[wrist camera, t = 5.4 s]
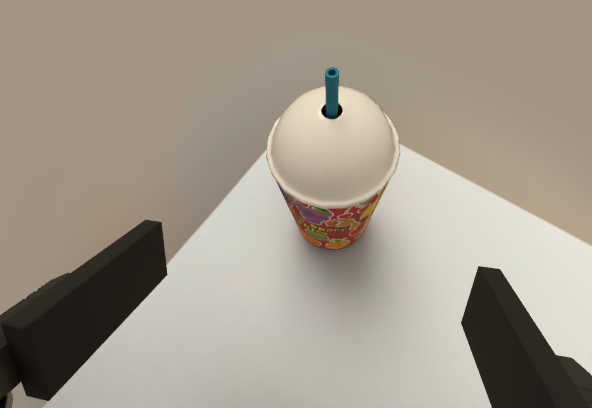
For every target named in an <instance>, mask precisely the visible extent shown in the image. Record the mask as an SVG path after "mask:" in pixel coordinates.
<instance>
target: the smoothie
mask: <svg viewBox="0 0 592 408" xmlns="http://www.w3.org/2000/svg"><path fill="white" fill-rule="evenodd" d="M399 156H400V146H399V137H398V134H397V132H396V130H395V128H394V126H393V124H392V122H391V120H390V118H389V117H387V115H386V114H385V113H384V112H383V110H382V109H381V108H380V107H379V106H378V105H377V104H376V103H375V102H374V101H373V100H372V99H371V98H370V97H369V96H367V95H365V94H363V93H362V92H360V91H357V90H356V89H353V88H348V87H344V86H339V71H338V69H337V68H334V67H331V68H328V69H327V70H326V72H325V86H323V87H319V88H316V89H313V90H309V91H308V92H306V93H304V94H303V95H301V96H300V97H298V98H296V99H295V100H294V101H293V102H292V103H291V104H290V105H289V106H288V107H287V109H286V110H285V111H284V112H283V113H282V115H281V117H280V118H279V119H278V120H277V121H276V122H275V124H274V126H273V128H272V130H271V133H270V135H269V137H268V140H267V155H266V158H267V161H268V164H269V167H270V171H271V174H272V175H273V177H274V178H275V179H276V181H277V184H278V186H279V188H280V190H281V192H282V194H283V196H284V198H285V200H286V202H287V205H288V207H289V209H290V211H291V213H292V215H293V217H294V219H295V221H296V223H297V225H298V227H299V230H300V232H301V233H302V234H303V235H304V237H305V238H306V239H307V240H308V241H309V242H311V243H312V244H314V245H315V246H318V247H321V248H325V249H340V248H343V247H346V246H349V245H351V244H352V243H353V242H355V241H356V240H357V239H359V238H360V236H361V234H362V233H363V231H364V230H365V228H366V226H367V224H368V222H369V220H370V218H371V216H372V214H373V212H374V210H375V208H376V206H377V204H378V202H379V200H380V198H381V196H382V194H383V192H384V190H385V188H386V186H387V184H388V182H389V180H390V178H391V177H392V175H393V174H394V173H395V171H396V167H397V163H398V160H399Z"/></svg>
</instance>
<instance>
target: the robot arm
mask: <svg viewBox="0 0 592 408" xmlns="http://www.w3.org/2000/svg"><path fill="white" fill-rule="evenodd" d="M166 276H167V267H166V258H165V250H164V240H163V231H162V223H161V222H157V221H150V220H145V221H143V222H142V223H140V224H139V225H138V226H136V227H135V228H133V229H132V230H131V231H129V232H128V233H126V234H125V235H124V236H122V237H121V238H120V239H118V240H117V241H115V242H114V243H112V244H111V245H110V246H108V247H107V248H105V249H104V250H103V251H101V252H100V253H98V254H97V255H96V256H94V257H93V258H91V259H90V260H88V261H87V262H86V263H84V264H83V265H82V266H80V267H79V268H77V269H76V270H75V271H73V272H72V273H67V274H64V275H62V276H60V277H57V278H55V279H52V280H51V281H49V282H48V283H46V284H45V285H43V286H42V287H41V288H39V289H38V291H35V292H33V293H32V294H30V295H29V296H27V298H26V299H23V300H22V301H20V302H19V303H17V304H16V305H14V306H13V307H11V308H10V309H9V310H7V311H6V312H4V313H3V314H2V315H0V408H12V403H13V397H12V393H11V390H12V389H14V387H16V386H17V385H18V384H19V383H20V382H22V385H23V387H24V390H25V393H26V396H29V397H34V398H38V399H42V400H46V401H49V400H50V399H51V398H52V397H53V396H54V395H55V394H56V393H57V392H58V391H59V390H60V389H61V388H62V387H63V385H64V384H65V383H66V382H67V381H68V380H69V379H70V378H71V377H72V376H73V375H74V374H75V373H76V372H77V371H78V369H79V368H80V367H81V366H82V365H83V364H84V363H85V362H86V361H87V360H88V359H89V358H90V357H91V356H92V355H93V353H94V352H95V351H96V350H97V349H98V348H99V347H100V346H101V345H102V344H103V343H104V342H105V341H106V340H107V339H108V337H109V336H110V335H111V334H112V333H113V332H114V331H115V330H116V329H117V328H118V327H119V326H120V325H121V324H122V323H123V321H124V320H125V319H126V318H127V317H128V316H129V315H130V314H131V313H132V312H133V311H134V310H135V309H136V308H137V307H138V305H139V304H140V303H141V302H142V301H143V300H144V299H145V298H146V297H147V296H148V295H149V294H150V293H151V292H152V291H153V289H154V288H155V287H156V286H157V285H158V284H159V283H160V282H161V281H162V280H163V279H164V278H165V277H166ZM461 324H462V327H463V329H464V332H465V335H466V338H467V340H468V343H469V346H470V349H471V351H472V354H473V357H474V359H475V362H476V365H477V368H478V370H479V373H480V376H481V379H482V381H483V384H484V387H485V390H486V392H487V395H488V398H489V401H490V403H491V406H492V408H592V376H591V374H590V373H589V372H587V371H586V370H585V369H584V368H583V367H582V366H581V365H579V364H578V363H577V362H576V361H575V360H574V359H573V358H569V357H563V356H558V355H555V353H554V352H553V350H552V349H551V347H550V346H549V344H548V342H547V341H546V339H545V338H544V336H543V335H542V333H541V332H540V330H539V329H538V327H537V326H536V324H535V322H534V321H533V319H532V318H531V316H530V315H529V313H528V312H527V310H526V309H525V307H524V305H523V304H522V302H521V301H520V299H519V298H518V296H517V295H516V293H515V292H514V290H513V289H512V287H511V285H510V284H509V282H508V281H507V279H506V278H505V276H504V275H503V273H502V272H501V270H500V269H495V268H488V267H480V266H478V269H477V273H476V276H475V279H474V283H473V286H472V289H471V292H470V296H469V299H468V302H467V305H466V309H465V312H464V315H463V318H462V322H461Z"/></svg>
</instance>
